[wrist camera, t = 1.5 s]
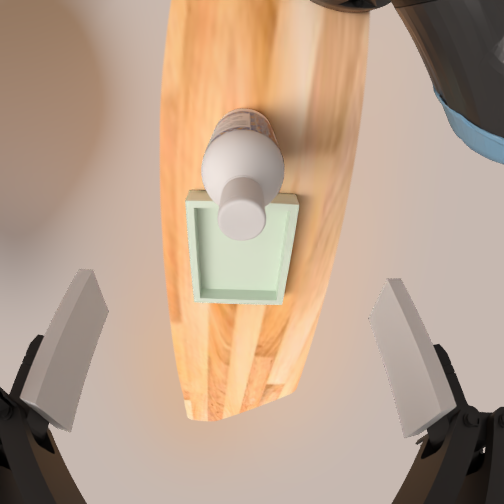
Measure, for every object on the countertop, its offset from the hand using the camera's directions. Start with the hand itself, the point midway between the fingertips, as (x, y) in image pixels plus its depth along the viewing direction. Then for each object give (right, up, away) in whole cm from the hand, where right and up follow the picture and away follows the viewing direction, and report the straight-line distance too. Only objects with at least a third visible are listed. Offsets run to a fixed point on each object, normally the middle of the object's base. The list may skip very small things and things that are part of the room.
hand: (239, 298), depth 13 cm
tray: (-1, +3, +31) cm, 31 cm away
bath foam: (0, +16, +21) cm, 26 cm away
